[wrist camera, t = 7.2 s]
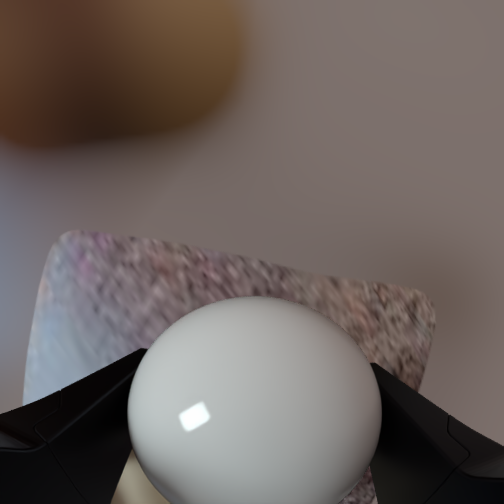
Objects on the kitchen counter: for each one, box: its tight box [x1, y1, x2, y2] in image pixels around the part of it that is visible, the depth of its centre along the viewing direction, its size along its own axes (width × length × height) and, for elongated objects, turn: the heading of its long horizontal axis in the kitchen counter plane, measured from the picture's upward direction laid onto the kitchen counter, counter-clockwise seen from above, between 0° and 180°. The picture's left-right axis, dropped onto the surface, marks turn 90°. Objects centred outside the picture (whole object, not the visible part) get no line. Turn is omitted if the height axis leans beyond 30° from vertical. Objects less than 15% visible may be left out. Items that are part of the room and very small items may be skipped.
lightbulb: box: [127, 296, 382, 504], centre depth 9 cm, size 6×6×11 cm
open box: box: [111, 448, 170, 504], centre depth 14 cm, size 10×10×3 cm
